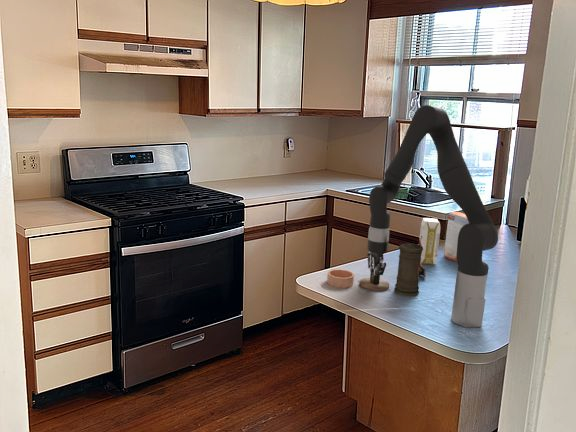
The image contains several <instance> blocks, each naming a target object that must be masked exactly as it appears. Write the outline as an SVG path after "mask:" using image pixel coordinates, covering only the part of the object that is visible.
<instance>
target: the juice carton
mask: <svg viewBox="0 0 576 432" xmlns="http://www.w3.org/2000/svg"><path fill="white" fill-rule="evenodd" d="M440 234H441V223H440V221H439V220H438V218H432V217H431V218H430V217H422V221H421V223H420V231H419V238H418V239H419V240H418V245H420V246H422V247H423V251H422V253H421V262H420V264H421V265H432V266H433V265H436V263H437V259H438V252H439V251H438V250H439V246H440V245H439V242H440V237H441V235H440Z"/></svg>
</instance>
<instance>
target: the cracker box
mask: <svg viewBox="0 0 576 432" xmlns="http://www.w3.org/2000/svg"><path fill="white" fill-rule="evenodd" d="M447 217H448V219H447V227H446V234H445V235H446V236H445V243H444V250H443V256H444V257H445V258H447V259H450V260H452V261H454V262H456V263H457V259H456V255H457V242H458V235H459V231H460V229H461V228H462V227H463V226H464V225H465V224H468V223H469V222H468V219H467V217H466V215H465V213H464V212H461V211H449V212H448V216H447Z"/></svg>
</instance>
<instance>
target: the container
mask: <svg viewBox="0 0 576 432" xmlns="http://www.w3.org/2000/svg"><path fill="white" fill-rule="evenodd" d="M398 248H399V256H398V267H397V268H398V269H397V275H396V283H395V285H394V288H393V289H394V293H396V294H397V295H400V296H401V297H402V296H403V297H417V296H418V295H419V294H420V287H419V282H420V277H419V276H420V275H419V271H420V264H421V263H420V262H421V253H422V251H423V247H422V246H420V245H419V243H418V244H417V243H412V242H403V243H400V244H399V247H398Z"/></svg>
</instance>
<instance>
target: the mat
mask: <svg viewBox="0 0 576 432" xmlns="http://www.w3.org/2000/svg"><path fill="white" fill-rule="evenodd" d="M357 282H358V283H359V284H360V280H357ZM365 290H366V291H367V292H369V293H370V292H375V291H374V290H368V289H365ZM391 291H392V290H391V289H390V287H389V288H388V289H387V290H383V291H382V292H391Z"/></svg>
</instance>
